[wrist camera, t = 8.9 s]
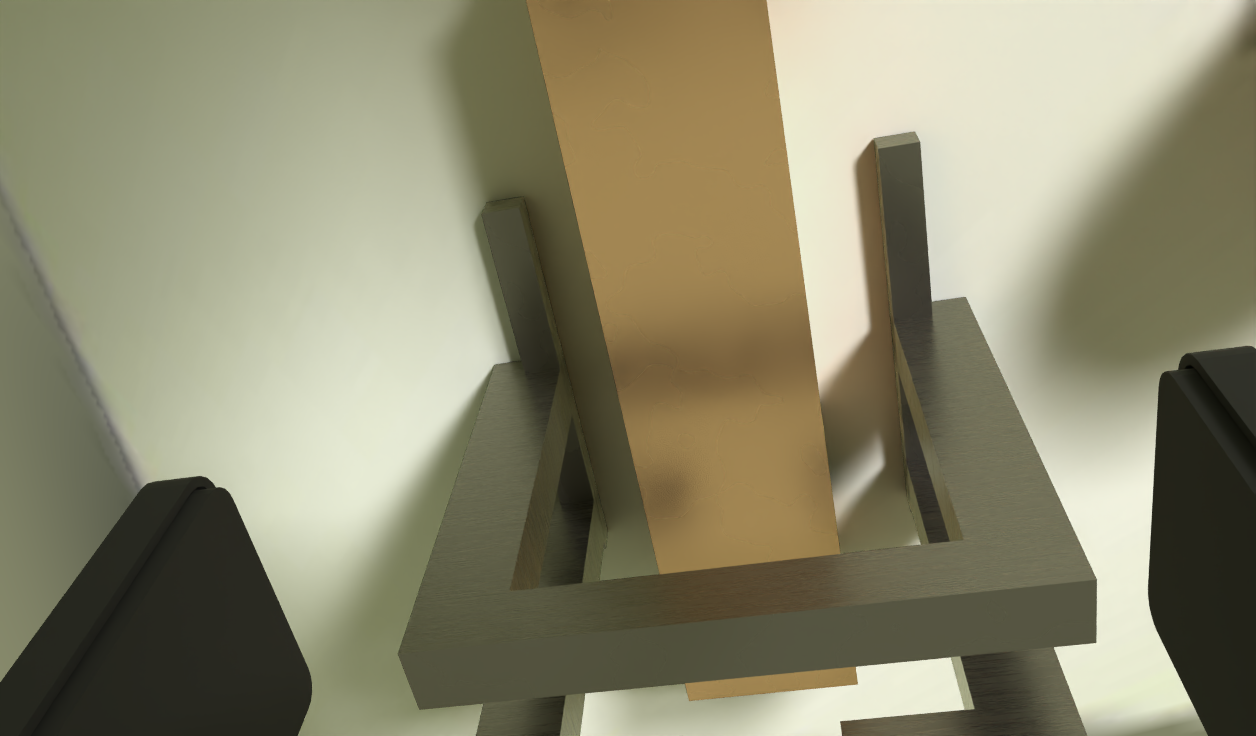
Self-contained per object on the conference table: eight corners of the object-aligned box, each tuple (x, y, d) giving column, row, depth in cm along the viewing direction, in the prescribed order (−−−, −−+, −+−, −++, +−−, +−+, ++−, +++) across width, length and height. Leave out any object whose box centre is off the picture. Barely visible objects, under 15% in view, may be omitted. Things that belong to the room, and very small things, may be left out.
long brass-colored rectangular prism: (543, -113, 26) (506, -78, 21) (741, -154, 25) (750, -128, 20) (690, 569, 35) (688, 701, 30) (837, 552, 34) (858, 684, 30)
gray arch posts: (450, 208, 30) (319, 451, 20) (955, 124, 28) (1098, 345, 18) (544, 539, 35) (479, 865, 25) (976, 487, 33) (1095, 817, 23)
